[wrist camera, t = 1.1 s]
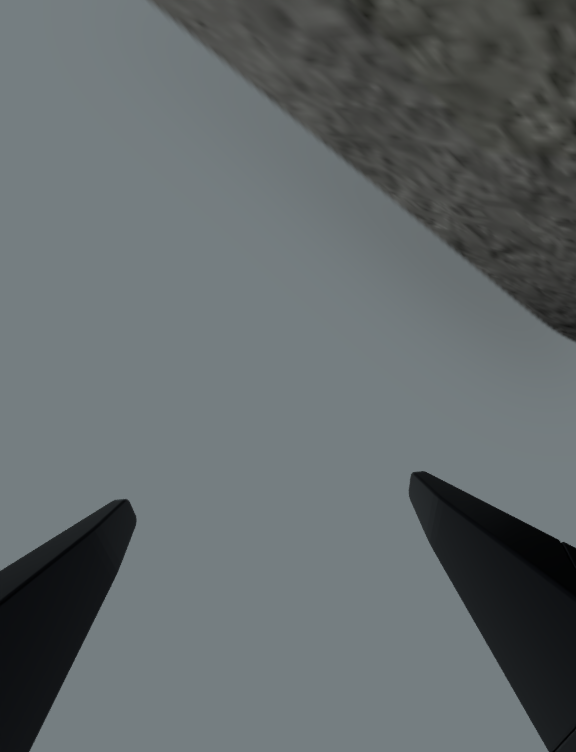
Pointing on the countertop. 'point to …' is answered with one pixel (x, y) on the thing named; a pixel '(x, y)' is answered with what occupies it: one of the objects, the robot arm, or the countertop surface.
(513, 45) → the countertop surface
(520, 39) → the countertop surface
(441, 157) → the countertop surface
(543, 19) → the countertop surface
